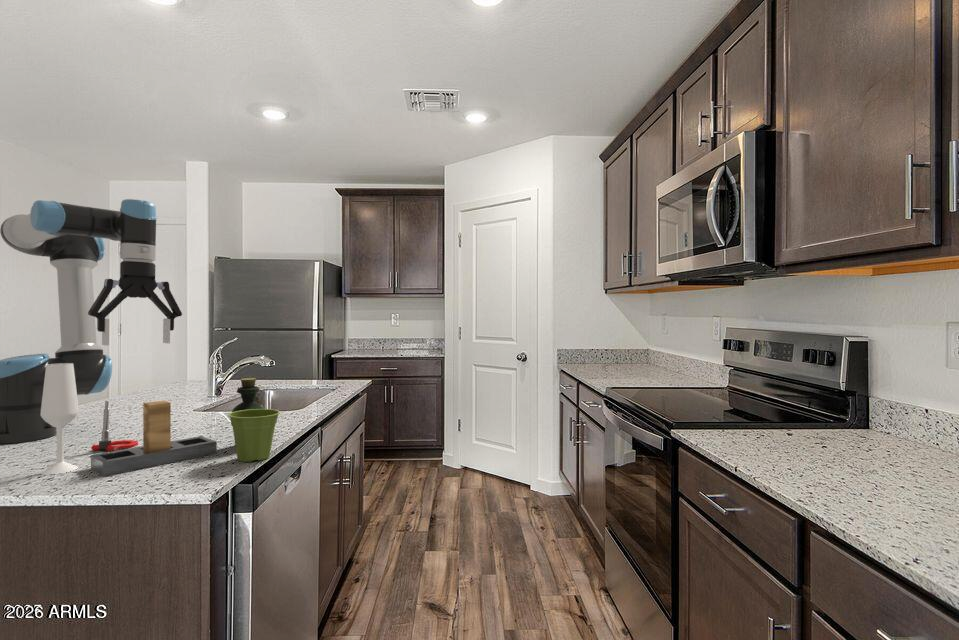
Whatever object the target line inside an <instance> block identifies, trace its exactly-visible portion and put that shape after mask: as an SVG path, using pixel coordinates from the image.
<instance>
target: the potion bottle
mask: <svg viewBox="0 0 959 640" xmlns="http://www.w3.org/2000/svg"><path fill="white" fill-rule="evenodd" d="M256 381H257V378H256V377H248V378H247V377H246V378H245V377H244V378H240V382H241V386H240V387H237V390H236V394H239V395H240V397H241V401H242V402H241V403H239V404H237V405H236V406H234V407H233V408H232V411H231V412H235V411H240V410H249V409H265V407H264V406H263V405H262V404H260V403H258V402H256V401H255V399H256V395H257V393H259V392H261V390H260V386H256Z"/></svg>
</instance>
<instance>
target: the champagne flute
mask: <svg viewBox="0 0 959 640" xmlns="http://www.w3.org/2000/svg"><path fill="white" fill-rule="evenodd" d="M78 400H79V399H78V395H77V390H76V382H75V374H74V365H73V363H58V364H47V365H46V371H45V379H44V388H43V396H42V405H41V414H40V415H41V417H42V418H43V420H44V421H46V422H47V423H48V424H50V425H51V426H53V427H56V428H57V434H56V462H55V463H54V464H52V465H50V466H49V467H47V468H46V469H44V470H42V471H41V472H40V474H41V475H44V476H45V475H46V476H50V474H55V475H60V474H59V473H62V474H66V472H67V473H71V472H74V471H76V470H75V469H77V468H78V467H79V466H77V465H75V464H71V463H69V462H66V461H65V460H64V455H65V454H64V428H65V427H67V426H68V425H69V424H70V423H71V422H72V421H73V420H75V419H76V417H77V416H78V414H79V412H80V409H79V408H80V407H79V401H78ZM78 469H79V468H78ZM78 469H77V470H78ZM73 470H74V471H73ZM70 471H71V472H70Z"/></svg>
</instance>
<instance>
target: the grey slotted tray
mask: <svg viewBox="0 0 959 640" xmlns="http://www.w3.org/2000/svg"><path fill="white" fill-rule="evenodd" d="M217 451H218V450H217V441H216V440H213V439H210V438H208V437H204V436H202V435H200V436H195V437H188V438H184V439H176V440H172V441H171V448H170V449H164V450H159V451H153V452H146V451H144V450H143V445H142V446H134V447H130V448H124V449H118V450H117V451H106V452H102V453H101V452H100V453H95V454H91V455H90V469H91V470H92V471H94V472H96V473H97V474H99V475H100V476H102V477H107V476H111V475H116V474H120V473H121V474H122V473H126V472H130V471H135V470H141V469H145V468H151V467H155V466H160V465H165V464H166V465H167V464H171V463H174V462H175V463H177V462H180V461H186V460H190V459H195V458H200V457H206V456H210V455H215V454H218V453H217Z"/></svg>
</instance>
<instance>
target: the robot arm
mask: <svg viewBox="0 0 959 640" xmlns="http://www.w3.org/2000/svg"><path fill="white" fill-rule="evenodd" d="M157 219H158V216H157V208H156V205H155V204H154V203H153V202H151V201H148V200H141V199H132V198H128V199H123V200H121V203H120V208H119V210H113V209H105V208H97V207H93V206H85V205H84V206H83V205H77V204H70V203H66V202H65V203H64V202H58V201H55V200H43V199H42V200H41V199H39V200H36V201H34V202H33V204H32V206H31V208H30V213H28V214H23V213H22V214H20V213H19V214H15V215H13V216H12V215H11V216H10V217H8V218H6V219H5V220H4V221H3V222H2V224H1V225H0V236H1V238H2V240H3V241H4V242H5V243H6V245H8V246H9V247H10V248H12V249H14V250H16V251H18V252H20V253H22V254H23V253H24V254H26V255H31V256H36V257H48V258H49V263H50V265H51V266H52V267H54V268H55V269H56V274H57V277H56V278H57V294H58V309H59V310H58V311H59V313H58V314H59V328H60V329H59V330H60V347H59V348H58V349H57V350H56V351H55V352H54V356H55V357H50V356H49V354H48V353H35V354H25V355H18V356H17V355H16V356H14V357H13V356H11V357H7V358H2V359H0V445H2V444H3V445H4V444H17V443H25V442H26V443H27V442H32V441H37V440H43V439H44V440H45V439H48V438H51V437H53V436H57V428H56V427H53V426H51V425H50V424H48V423H47V422H46V421H44V420H43V418H42V417H41V415H40V414H41V405H42V396H43V388H44V379H45V371H46V365H47V364H58V363H73V365H74V374H75V382H76V390H77V396H81V395H82V396H83V395H85V396H86V395H90V394H97V393H101V392H103V391H104V390H106V389H107V387H108V386H109V385H110V384H109V383H110V382H111V379H112V376H113V375H112V374H113V361H112V358H111V356H109V355H107V354H104V349H103V348H102V347H101V346H100V345H98V344H97V343H98V342H97V331H98V332H99V333H101V345H103V346H105V347H106V346H110V318H106V317H107V316H109V315H110V313H111V312H113V311H114V310H115V308H117V307H118V306H119V305H120V304H121V303H122V302H123V301H124V300H126V299H127V298H134V299H135V298H141V299H147V298H148V299H149V300H150V301H151V302H152V303H153V304H154V305H155V306H156V307H157V309H158V310H159V311H160V312H161V313H162V314H163V315H164V316H165V317H166V318H163V319H162V321H163V322H162V324H163V325H162V344H171V331H174V330H175V319H176V318H178V317H181V316H182V315H183V312H182V311H181V309H180V307H179V305H178V304H177V301H176V299H175V296H174V295H173V293H172V292H171V290H170V289H171V288H170V283H169V281H159V282H157V280H156V264H155V263H154V262H156V254H157V253H156V252H157V251H156V248H157V247H156V246H157V245H156V238H157ZM104 239H109V240H111V241H113V242H115V241H116V242H120V250H119V251H120V252H119V253H120V257H119V258H120V259H121V260H122V261H120V262H119V267H120V268H119V270H120V271H119V280H116V279H113V278H105V279H104V282H103V288H102V289H101V291H100V293H99V294H98V296H97V297H96V299H95V297H94V294H95V293H94V283H93V282H94V279H93V270H94V268H95V267H97V266H98V261H101V260H103V258H104V256H105V249H106V248H105V240H104ZM117 286H118V287H119V289H120V290H121V291H119V292H118V293H117V295H116V296H115V297H114V298H113V299H112V300H111V301H109V303H107V305H106V306H104V307H103V305H104V303H105V302H106V300H107V299H108V297H109V295H110V293H111V292H112V290H113V289H115V288H117ZM156 288H158V290H160V291H161V293H162V295H163V297H164V299H165V301H166V302H167V305H168V306H169V308H168V306H167V305H166V304H165V303H164V301H162V299H160V297H159V295H157V293H155V292H154V291H155V290H156ZM102 307H103V309H101V308H102ZM170 309H171V310H170ZM96 320H97V323H96ZM96 324H97V325H96ZM96 326H97V327H96ZM96 330H97V331H96Z"/></svg>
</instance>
